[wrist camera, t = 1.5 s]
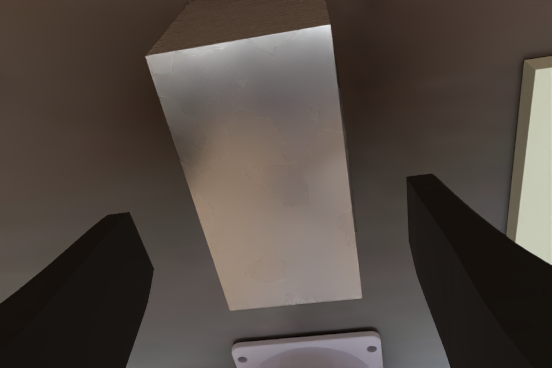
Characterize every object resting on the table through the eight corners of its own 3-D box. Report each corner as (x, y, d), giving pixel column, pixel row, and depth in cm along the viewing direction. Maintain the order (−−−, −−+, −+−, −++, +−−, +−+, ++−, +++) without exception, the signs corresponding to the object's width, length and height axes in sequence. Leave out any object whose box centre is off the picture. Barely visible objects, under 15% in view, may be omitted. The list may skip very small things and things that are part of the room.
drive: (349, 194, 21) (365, 297, 16) (246, 207, 21) (229, 310, 16) (323, -25, 16) (334, 23, 11) (191, -1, 17) (144, 56, 12)
